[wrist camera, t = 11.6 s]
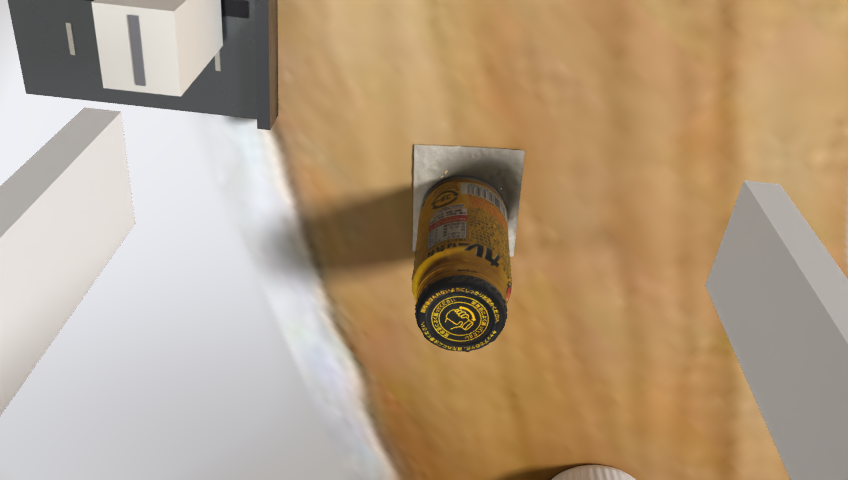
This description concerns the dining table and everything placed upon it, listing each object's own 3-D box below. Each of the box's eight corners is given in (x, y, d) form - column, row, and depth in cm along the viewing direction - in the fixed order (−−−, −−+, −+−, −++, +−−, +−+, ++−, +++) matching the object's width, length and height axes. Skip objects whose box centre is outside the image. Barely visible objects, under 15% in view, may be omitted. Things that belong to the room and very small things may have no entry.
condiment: (412, 249, 55) (399, 361, 45) (414, 143, 51) (400, 241, 41) (513, 254, 55) (523, 368, 45) (524, 148, 51) (538, 248, 40)
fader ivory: (149, -37, 44) (90, 2, 37) (219, -30, 44) (173, 12, 37) (156, 38, 46) (102, 88, 39) (222, 45, 46) (180, 97, 39)
